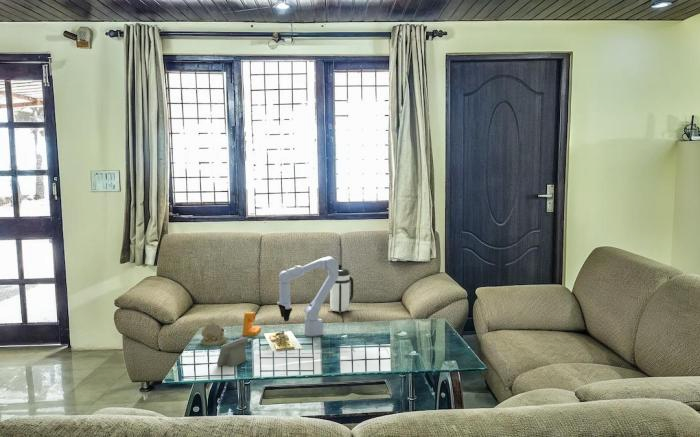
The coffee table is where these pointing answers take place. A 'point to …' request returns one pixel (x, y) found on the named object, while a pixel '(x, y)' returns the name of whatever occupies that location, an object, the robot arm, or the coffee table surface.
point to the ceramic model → (213, 335)
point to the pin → (281, 334)
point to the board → (291, 339)
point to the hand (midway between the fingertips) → (284, 318)
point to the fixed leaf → (283, 343)
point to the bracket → (250, 325)
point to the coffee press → (341, 291)
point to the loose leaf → (273, 337)
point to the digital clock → (233, 353)
